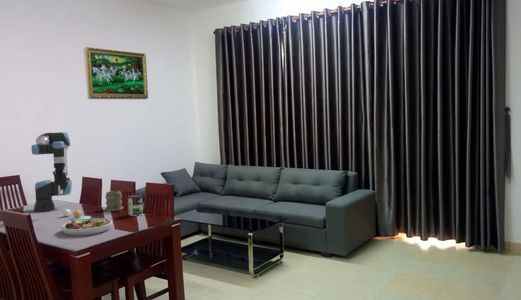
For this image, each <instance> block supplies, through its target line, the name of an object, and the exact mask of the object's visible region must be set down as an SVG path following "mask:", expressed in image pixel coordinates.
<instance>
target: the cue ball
mask: <svg viewBox="0 0 521 300" xmlns="http://www.w3.org/2000/svg"><path fill="white" fill-rule="evenodd" d="M71 214H72V212H71V209H68V208H65V209H64V210H63V211H62V215H63V216H64V217H66V218H67V217H70V216H71Z"/></svg>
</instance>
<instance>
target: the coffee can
mask: <svg viewBox="0 0 521 300" xmlns="http://www.w3.org/2000/svg"><path fill="white" fill-rule="evenodd" d="M127 199H128V200H127V202H128V216H129V215H130V216H129V217H137V215H139V216H142V214H144V213H143V212H144V211H143V209H144V207H143V205H144V204H143V195H142V194H131V195H128V196H127Z"/></svg>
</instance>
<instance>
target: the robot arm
mask: <svg viewBox="0 0 521 300" xmlns="http://www.w3.org/2000/svg"><path fill="white" fill-rule="evenodd" d="M70 146H71V142H70V136H69V133H68V132H65V131H64V132H63V131H61V132H45V133H42V134H40V135H39V136H37V137H36V139H35V144H32V145H31V154H32V155H36V156H39V155H52V158H53V168H54V170H53V171H52V175H53V179H54V180H53V181H52V179H46V180H41V181H37V182H36V183H35V184H34V189H35V193H34V194H35V203H34V206H33V212H39V213H40V212H49V211H54V210H55V209H56V206H55V203H54V201H53V197H58V196H68V195H71V193H72V187H73V181H72V180H71V178H70V177H69V175H68V174H69V173H68V172H69V171H68V154H67V153H68V152H67V151H68V149H69V147H70Z"/></svg>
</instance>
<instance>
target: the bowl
mask: <svg viewBox="0 0 521 300" xmlns="http://www.w3.org/2000/svg"><path fill="white" fill-rule="evenodd" d="M112 225H113V221H112V220H111V219H110V218H107V217H106V218H104V217H91V218H88V219H80V220H70V221H67V222H65V223H63V224H61V231H62V232H63V233H64V235H65V234H66V235H67V236H77V237H80V236H93V235H97V234H102V233H104V232H107V231H108V230H109V229H111V227H112ZM101 232H102V233H101Z"/></svg>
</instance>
